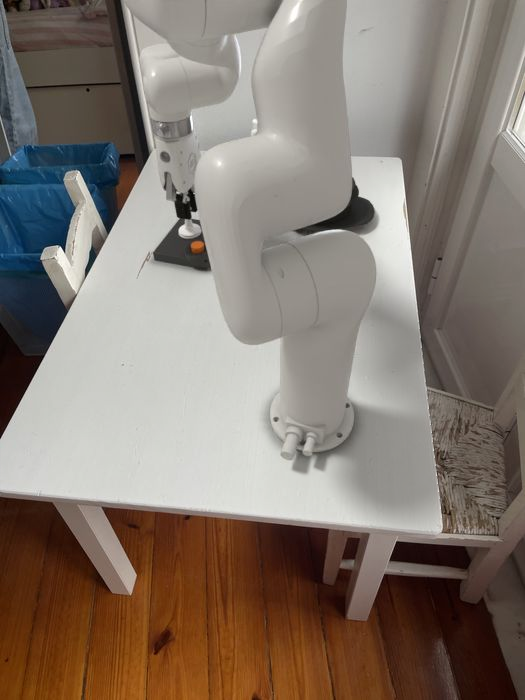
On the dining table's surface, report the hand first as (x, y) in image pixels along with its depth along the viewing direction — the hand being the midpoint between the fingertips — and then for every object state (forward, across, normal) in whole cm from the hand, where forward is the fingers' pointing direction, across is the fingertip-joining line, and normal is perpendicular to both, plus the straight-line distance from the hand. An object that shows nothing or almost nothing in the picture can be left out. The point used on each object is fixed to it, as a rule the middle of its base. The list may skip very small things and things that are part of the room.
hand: (187, 213), depth 101 cm
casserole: (+7, +17, -24) cm, 31 cm away
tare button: (+3, -7, -5) cm, 9 cm away
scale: (+7, -2, -1) cm, 7 cm away
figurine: (+7, +29, -6) cm, 31 cm away
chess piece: (+5, 0, 0) cm, 5 cm away
